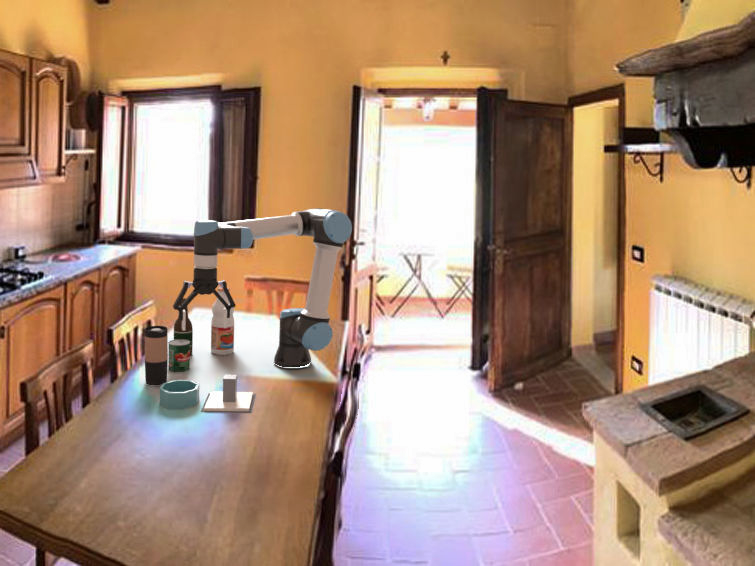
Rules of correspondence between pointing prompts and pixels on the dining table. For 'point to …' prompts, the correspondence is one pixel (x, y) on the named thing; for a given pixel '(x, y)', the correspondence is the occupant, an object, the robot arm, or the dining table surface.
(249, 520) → the dining table surface
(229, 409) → the lid
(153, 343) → the travel mug
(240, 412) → the mat
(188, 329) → the beer bottle
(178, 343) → the canned tomato
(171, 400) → the bowl
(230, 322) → the fruit juice
